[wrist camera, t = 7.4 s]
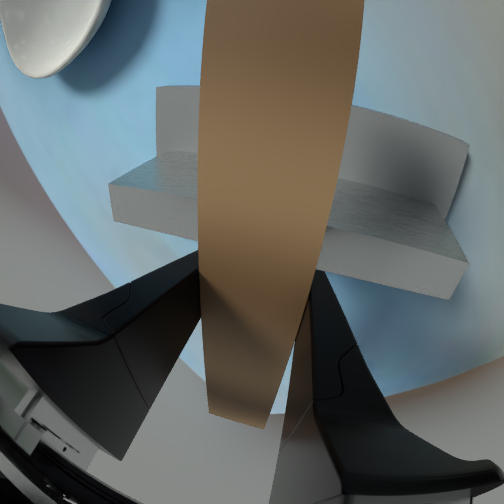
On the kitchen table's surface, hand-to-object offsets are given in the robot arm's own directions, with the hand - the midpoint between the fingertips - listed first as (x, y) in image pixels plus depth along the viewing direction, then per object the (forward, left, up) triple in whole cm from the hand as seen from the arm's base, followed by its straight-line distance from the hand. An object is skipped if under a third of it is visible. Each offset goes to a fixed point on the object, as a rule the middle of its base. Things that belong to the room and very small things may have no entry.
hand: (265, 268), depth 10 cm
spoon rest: (+21, -18, -10) cm, 29 cm away
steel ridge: (0, 0, -8) cm, 8 cm away
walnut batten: (0, 0, -1) cm, 1 cm away
